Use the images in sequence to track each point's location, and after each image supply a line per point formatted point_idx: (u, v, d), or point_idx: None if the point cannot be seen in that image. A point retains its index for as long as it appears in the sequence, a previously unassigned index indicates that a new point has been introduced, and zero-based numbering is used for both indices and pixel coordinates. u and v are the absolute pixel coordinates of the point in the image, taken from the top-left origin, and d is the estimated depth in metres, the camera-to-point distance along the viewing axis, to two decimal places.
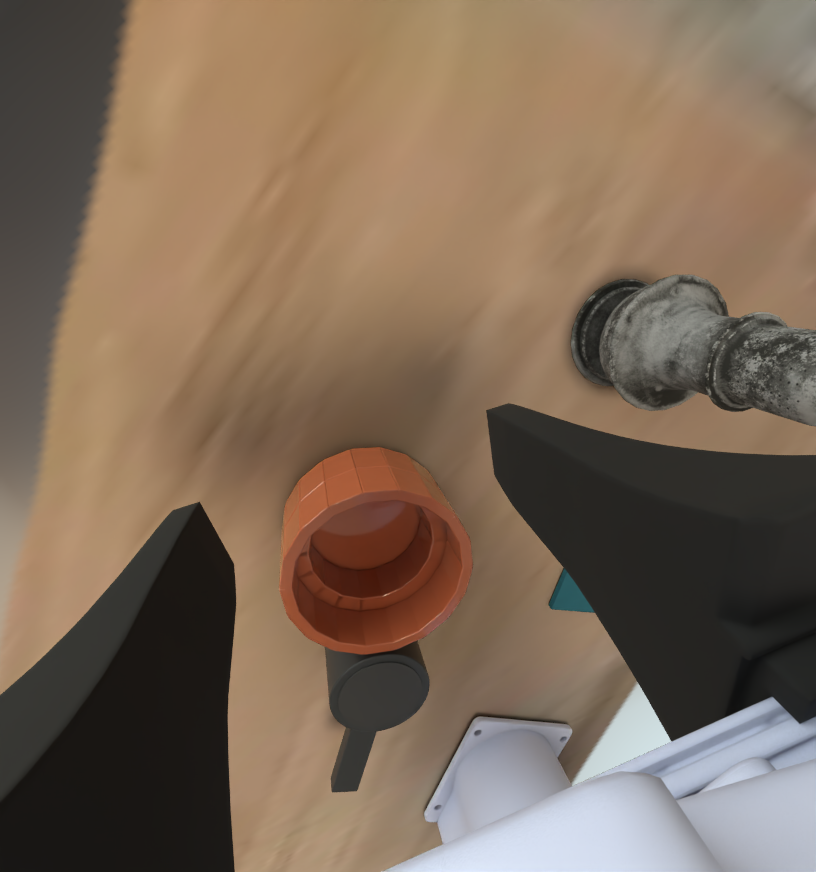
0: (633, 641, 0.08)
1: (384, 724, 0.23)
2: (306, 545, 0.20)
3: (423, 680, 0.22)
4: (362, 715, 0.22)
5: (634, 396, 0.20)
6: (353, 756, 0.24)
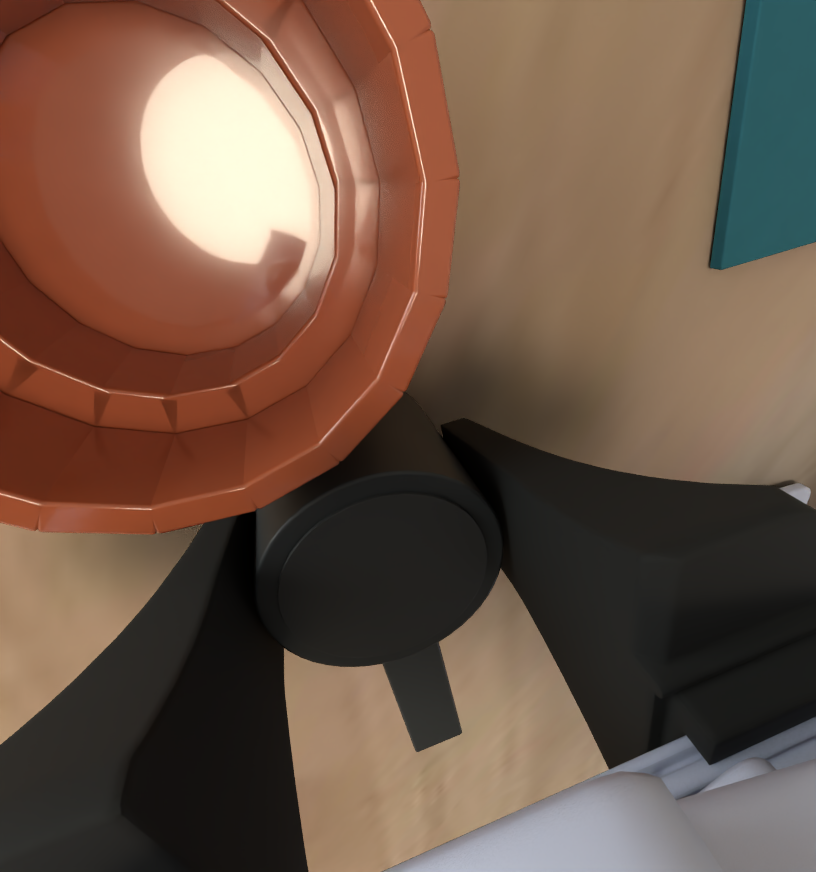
0: (572, 666, 0.08)
1: (435, 631, 0.10)
2: None
3: (474, 510, 0.09)
4: (372, 635, 0.09)
5: None
6: (419, 694, 0.12)
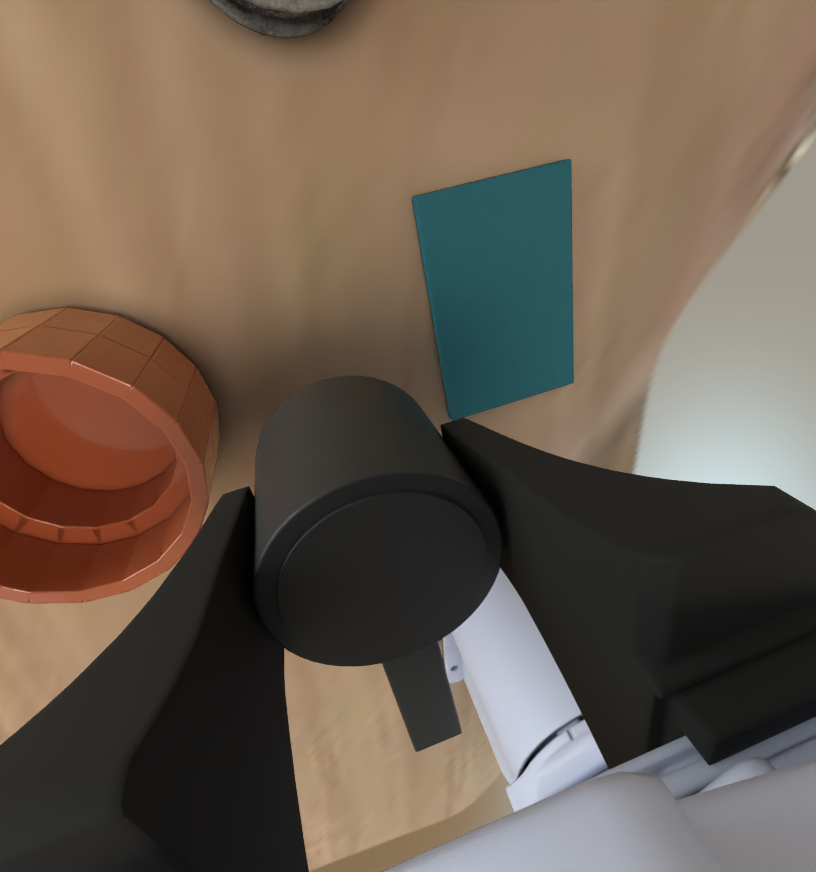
0: (572, 666, 0.08)
1: (435, 630, 0.10)
2: None
3: (474, 510, 0.09)
4: (371, 634, 0.09)
5: None
6: (419, 693, 0.12)
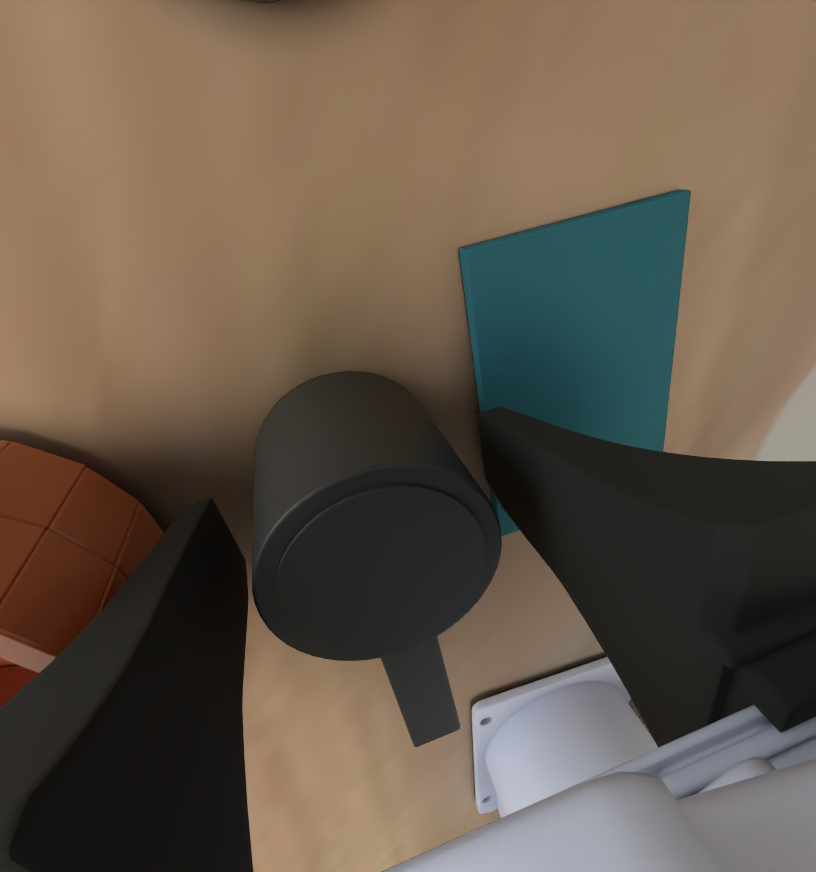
0: (620, 646, 0.08)
1: (433, 624, 0.10)
2: None
3: (472, 504, 0.09)
4: (370, 628, 0.09)
5: None
6: (418, 688, 0.12)
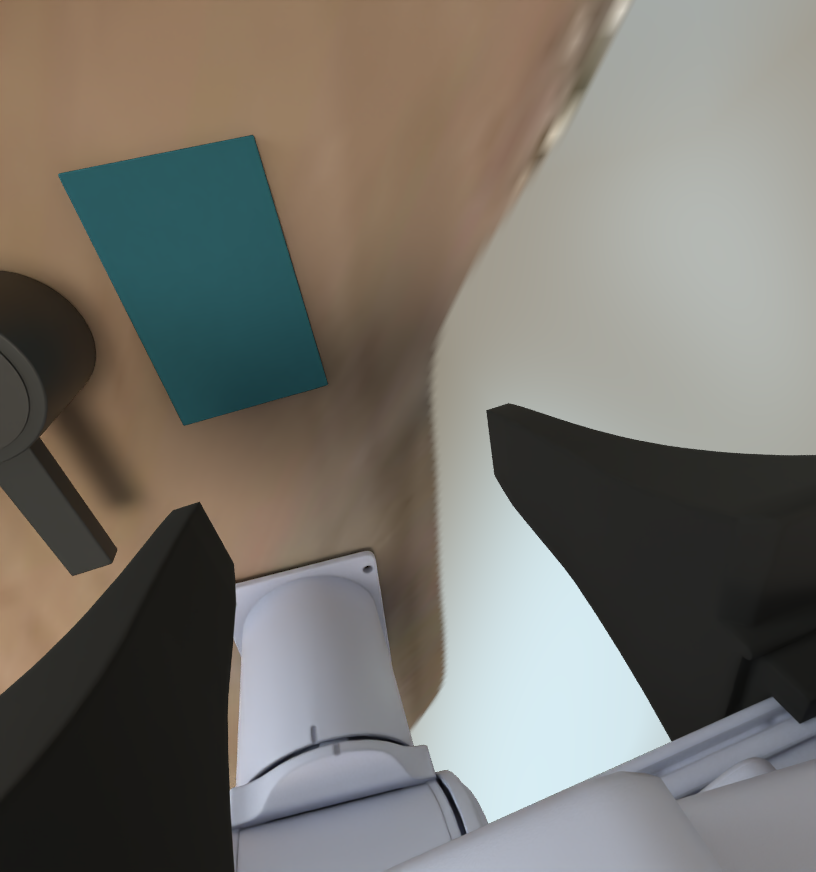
0: (633, 641, 0.08)
1: (3, 442, 0.13)
2: None
3: None
4: None
5: None
6: (47, 516, 0.15)
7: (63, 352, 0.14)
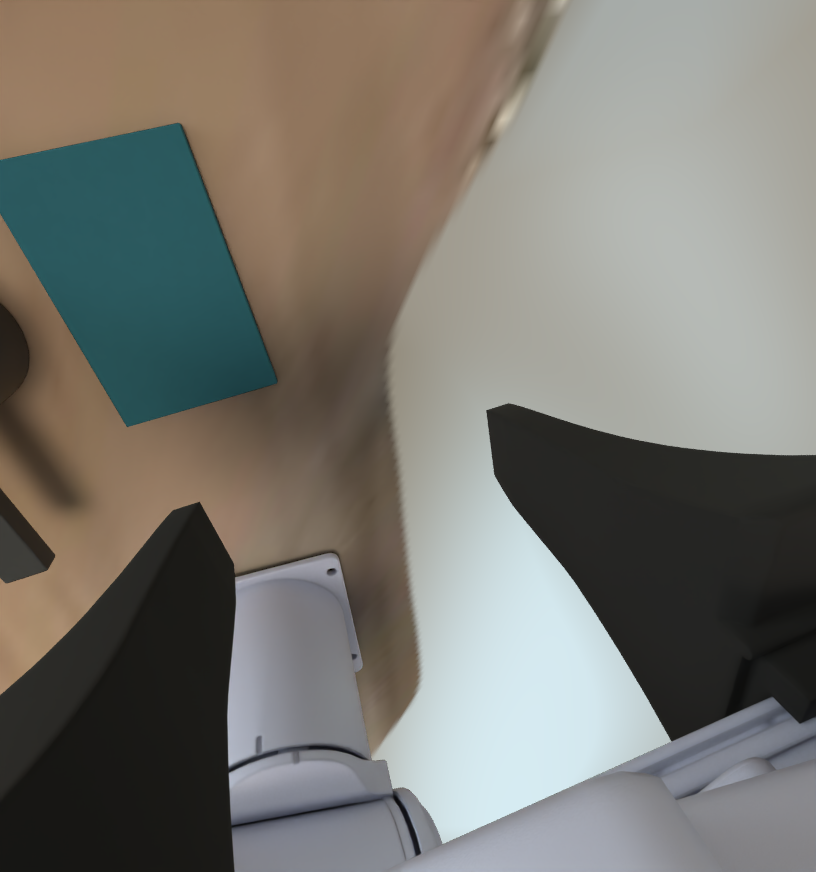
0: (633, 641, 0.08)
1: None
2: None
3: None
4: None
5: None
6: None
7: None
